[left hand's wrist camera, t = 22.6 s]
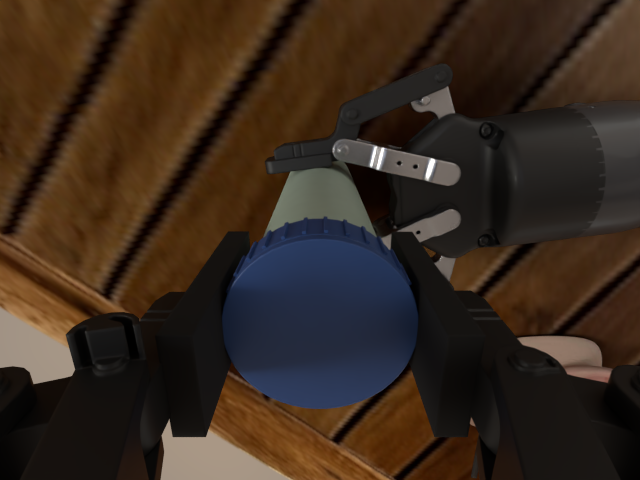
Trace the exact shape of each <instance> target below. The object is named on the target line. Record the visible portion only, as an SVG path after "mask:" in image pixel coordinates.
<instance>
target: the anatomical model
mask: <svg viewBox="0 0 640 480" xmlns="http://www.w3.org/2000/svg"><path fill="white" fill-rule="evenodd" d="M517 339H518V340H519V341H520V342H521V343H522V345H525V346H529V347H533V348H536V349H538V350H541V351H543V352H545V353H548V354H549V355H550V356H552V357H553V358H555V359H556V360H558V361H559V363H560V364H561V365H562V366H563V368H564V369H565V371H566V372H567V374H569V375H573V376H577V377H582V378H586V379H591V380H596V381H601V382H606V383H608V380H609V377H610V374H611V371H612V370H613V369H611V368H606V367H602V355H601V351H600V349H599V347H598V346H597V345H596V344H595V343H594V342H592V341H590V340H587V339H584V338H578V337H568V336H532V337H521V338H517ZM470 424H471V425H473V426H475V424H474V422H473V420H472V418H471V421H470ZM475 427H476V426H475Z"/></svg>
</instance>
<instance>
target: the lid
mask: <svg viewBox="0 0 640 480" xmlns="http://www.w3.org/2000/svg"><path fill="white" fill-rule="evenodd" d="M409 285H412V284H411V282H410V280H409V278H408V276H407V274H406V272H405V270H404V268H403V266H402V264H401V263H399V261H398V259H397V257H396V255H395V253H394V251H393V249H392V248H391V249H390V250H389V249H388V247H387V246H386V245H385V244H384V243H383V241H382V239H381V237H379V236H378V237H375V236H374V235H373V234H371V233H370V232H368V231H366V228H365V227H364V226H362V227H359V226H356V225H353V224H351V223H348V222H347V220H345V219H343V221H340V220H334V219H328V217H326V216H324V219H308V217H305V218H304V220H300V221H297V222H293V223H288V222H286V223H285V224H284V226H282V227H280V228H278V229H276V230H274V231H271V230H269V231H268V232H267V234H266V236H265V237H264V238H262V239H261V240H260V241H259V242H258V243H257V242H256V241H255V242H254V243H253V245H252V247H251V249H250V251H249V253H248V254H247V256H245V255H243V257H242V259H241V261H240V263H239V265H238V267H237V269H236V271H235V273H234V276H233V278H232V280H231V282H230V284H229V286H228V288H227V290H226V293H228V294H227V297H226V299H225V302H224V306H223V311H222V326H223V336H224V344H225V348H226V350H227V353H228V355H229V357H230V359H231V361H232V363H233V364H234V366H235V368H236V369H237V370H238V371H239V373H240V374H241V375H242V376H243V377H244V378H245V379H246V380H247V381H248V382H249V383H250V384H251V385H252V386H254V387H255V388H256V389H258V390H259V391H260V392H262V393H264V394H266V395H267V396H269V397H271V398H273V399H276V400H278V401H280V402H283V403H286V404H290V405H293V406H298V407H303V408H313V409H328V408H337V407H342V406H347V405H351V404H354V403H357V402H360V401H363V400H365V399H367V398H369V397H371V396H373V395H375V394H376V393H378V392H380V391H381V390H383V389H384V388H385V387H387V386H388V385H389V384H391V383H392V382H393V381H394V380H395V379H396V378H397V377H398V376H399V374H400V373H401V372H402V371H403V369H404V368H405V367H406V365H407V363H408V362H409V360H410V358H411V356H412V354H413V351H414V349H415V346H416V339H417V330H418V319H419V314H418V309H417V304H416V299H415V297H414V295H413V292H412V290H411V288H410V286H409Z"/></svg>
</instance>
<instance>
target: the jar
mask: <svg viewBox="0 0 640 480" xmlns="http://www.w3.org/2000/svg"><path fill="white" fill-rule="evenodd" d="M324 216H326V217H328V219H334V220H340V221H343V219H345V220H347V222H348V223H351V224H353V225H356V226H359V227H362V226H364V227H365V228H366V231H368V232H370V233H371V234H373V235H374V236H375V237H377V236H376V234H375V231H374V229H373V227H372V224H371V222H370V219H369V217H368V215H367V212H366V210H365V207H364V205H363V203H362V200H361V198H360V195H359V193H358V191H357V188H356V186H355V184H354V181H353V179H352V176H351V174H350V172H349V169H348V167H347V166H346V164H345V163H344V162H342V161H334V162H332V166H330V167H322V168H313V169H307V170H299V171H292V172H290V174H289V177H288V179H287V182H286V184H285V186H284V189H283V191H282V194H281V196H280V198H279V201H278V203H277V206H276V208H275V210H274V213H273V215H272V217H271V220H270V222H269V225H268V227H267V229H266V232H265V234H264V237H265V236H266V234H267V232H268V231H269V230H271V231H274V230H276V229H278V228H280V227H282V226H284V224H285V223H286V222H288V223H293V222H297V221H300V220H304V218H305V217H308V219H324ZM264 237H263V238H264Z"/></svg>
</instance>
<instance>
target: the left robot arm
mask: <svg viewBox="0 0 640 480" xmlns="http://www.w3.org/2000/svg"><path fill="white" fill-rule="evenodd" d="M391 248H392V249H393V251H394V253H395V255H396V257H397V259H398V261H399V263H401V264H402V266H403V268H404V270H405V272H406V274H407V276H408V278H409V280H410V282H411V284H412V285H409V286H410V288H411V290H412V292H413V295H414V297H415V299H416V304H417V309H418V314H419V319H418V330H417V339H416V346H415V349H414V351H413V354H412V356H411V358H410V360H409V363H410V366H411V369H412V372H413V375H414V378H415V381H416V384H417V387H418V390H419V393H420V396H421V399H422V402H423V405H424V407H425V410H426V413H427V416H428V419H429V422H430V425H431V428H432V431H433V434H434V437H468V432H469V426H470V421H471V418H472V420H473V422H474V424H475V426H476V428H477V430H478V432H479V436H478V441H477V446H476V452H475V457H474V462H473V467H472V475H471V477H472V478H477V473H478V470H479V478H480V480H640V366H634V365H622V366H617V367H616V368H614V369H613V370H612V371H611V374H610V377H609V380H608V383H606V382H601V381H596V380H591V379H586V378H582V377H577V376H573V375H569V374H567V372H566V371H565V369H564V368H563V366H562V365H561V364H560V363H559V361H558V360H556V359H555V358H553V357H552V356H550V355H549V354H548V353H545V352H543V351H541V350H538V349H536V348H533V347H529V346H525V345H522V343H521V342H520V341H519V340H518V339H517V337H516V336H515V335H514V334H513V333H512V331H511V330H510V329H509V328H508V327H507V325H506V324H505V323H504V322H503V320H500V317H499V316H498V314H497V313H496V312H495V311H493V308H492V307H491V306H490V305H489V304H488V302H487V301H486V300H485V299H484V298H482V297H480V296H479V295H477V294H475V293H474V292H472V291H454V290H453V289H452V287H451V286H450V285H449V283H448V282H447V280H446V279H445V277H444V276H443V275H442V273H441V272H440V270H439V269H438V268H437V266H436V265H435V263H434V262H433V260H432V259H431V258H430V256H429V255H428V253H427V252H426V250H425V249H424V248H423V246H422V245H421V243H420V242H419V241H418V239H417V238H416V236H415V235H414V233H413V232H392V233H391ZM391 248H390V249H391ZM249 251H250V242H249V232H228V233H227V234H226V235H225V237H224V238H223V240H222V241H221V242H220V244H219V245H218V247H217V248H216V250H215V251H214V252H213V254H212V255H211V257H210V258H209V260H208V261H207V262H206V264H205V265H204V267H203V268H202V269H201V271H200V272H199V274H198V275H197V277H196V278H195V279H194V281H193V282H192V284H191V285H190V287H189V288H188V289H187V291H186V292H169V293H167V294H166V295H164V296H162V297H161V298H159V299H158V300H156V301H155V302H154V303H153V304H152V306H151V307H150V308H149V309H148V311H147V313H145V314H144V315H143V317H142V318H141V319H140V321H139V318H138V317H136V316H135V315H134V314H130V313H125V312H116V313H107V314H103V315H98V316H95V317H92V318H90V319H87V320H84V321H83V322H81V323H79V324H78V325H76V326H74V327H73V328H72V329H71V330H70V331H69V332H68V333H67V334H66V337H67V341H68V345H69V348H70V352H71V356H72V359H73V363H74V367H75V371H74V373H73V375H72V376H71V377H67V378H62V379H58V380H53V381H48V382H43V383H38V384H33V381H32V378H31V375H30V372H28V371H27V370H26V369H25V368H21V367H5V368H0V480H160V478H161V471H162V463H163V456H164V448H163V442H162V436H161V435H162V433H163V431H164V429H165V427H166V425H167V423H168V420H169V418H170V424H171V429H172V435H173V437H206V435H207V432H208V429H209V426H210V423H211V420H212V417H213V414H214V412H215V409H216V406H217V403H218V400H219V397H220V394H221V391H222V388H223V385H224V382H225V379H226V376H227V373H228V370H229V367H230V364H231V359H230V357H229V355H228V353H227V350H226V348H225V344H224V336H223V326H222V311H223V306H224V302H225V299H226V297H227V294H228V293H226V290H227V288H228V286H229V284H230V282H231V280H232V278H233V276H234V273H235V271H236V269H237V267H238V265H239V263H240V261H241V259H242V257H243V255H245V256H247V254H248V253H249Z"/></svg>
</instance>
